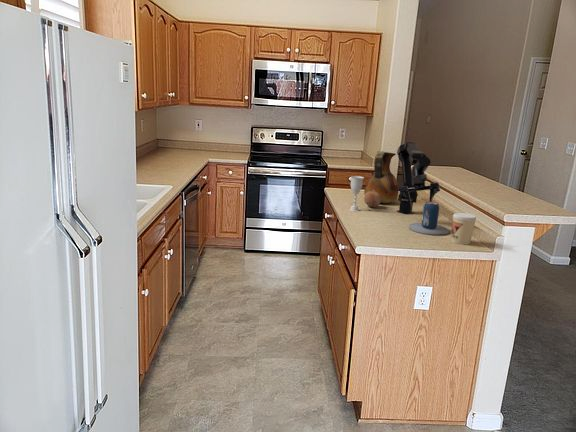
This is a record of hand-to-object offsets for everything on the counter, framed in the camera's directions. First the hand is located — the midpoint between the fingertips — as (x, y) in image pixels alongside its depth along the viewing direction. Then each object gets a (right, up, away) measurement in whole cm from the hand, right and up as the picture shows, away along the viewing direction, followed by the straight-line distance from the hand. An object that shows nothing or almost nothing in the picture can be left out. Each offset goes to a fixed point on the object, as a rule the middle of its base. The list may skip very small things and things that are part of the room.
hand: (420, 205), depth 224 cm
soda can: (+2, -11, -7) cm, 13 cm away
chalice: (-28, -2, +26) cm, 39 cm away
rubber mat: (+2, -12, -6) cm, 14 cm away
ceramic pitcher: (-9, +3, +51) cm, 52 cm away
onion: (-17, -1, +35) cm, 39 cm away
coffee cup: (+11, -17, -23) cm, 30 cm away
